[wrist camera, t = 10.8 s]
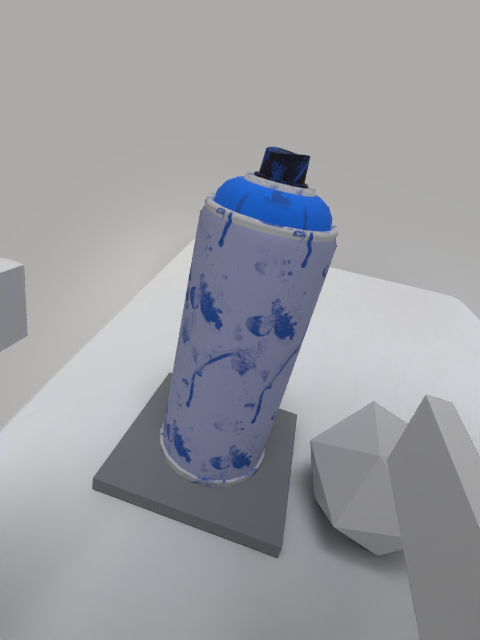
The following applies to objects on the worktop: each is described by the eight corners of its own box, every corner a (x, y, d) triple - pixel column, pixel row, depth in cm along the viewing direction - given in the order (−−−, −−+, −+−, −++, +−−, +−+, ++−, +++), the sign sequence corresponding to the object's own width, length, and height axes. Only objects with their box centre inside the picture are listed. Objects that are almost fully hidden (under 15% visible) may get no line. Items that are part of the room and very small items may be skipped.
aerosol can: (285, 459, 26) (398, 178, 18) (196, 508, 22) (290, 151, 13) (224, 394, 31) (288, 149, 22) (140, 422, 27) (179, 122, 18)
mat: (293, 423, 32) (297, 414, 31) (277, 557, 21) (281, 548, 21) (168, 381, 33) (169, 372, 32) (92, 488, 22) (93, 478, 22)
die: (433, 537, 26) (427, 400, 27) (474, 613, 17) (462, 410, 19) (317, 520, 28) (317, 395, 29) (304, 580, 20) (305, 402, 21)
